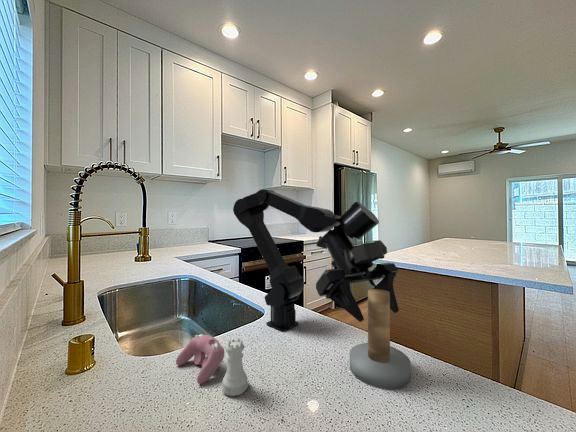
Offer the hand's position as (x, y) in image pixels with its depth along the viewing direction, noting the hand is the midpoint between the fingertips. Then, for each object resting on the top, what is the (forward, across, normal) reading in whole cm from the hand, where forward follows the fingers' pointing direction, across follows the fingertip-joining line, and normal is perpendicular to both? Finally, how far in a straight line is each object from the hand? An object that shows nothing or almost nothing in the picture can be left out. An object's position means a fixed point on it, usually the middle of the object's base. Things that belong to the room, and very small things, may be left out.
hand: (380, 316), depth 48 cm
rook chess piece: (+2, -26, +13) cm, 29 cm away
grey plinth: (+7, 0, +8) cm, 10 cm away
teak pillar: (+5, 0, +6) cm, 8 cm away
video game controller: (-4, -31, +20) cm, 37 cm away
